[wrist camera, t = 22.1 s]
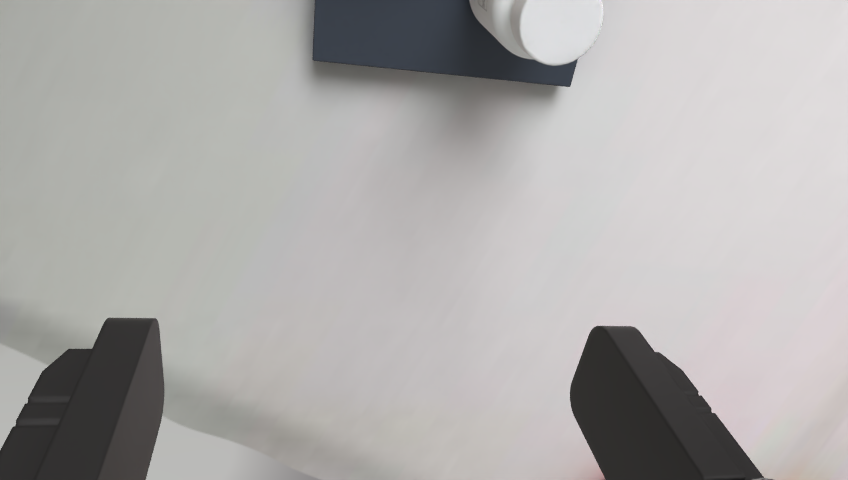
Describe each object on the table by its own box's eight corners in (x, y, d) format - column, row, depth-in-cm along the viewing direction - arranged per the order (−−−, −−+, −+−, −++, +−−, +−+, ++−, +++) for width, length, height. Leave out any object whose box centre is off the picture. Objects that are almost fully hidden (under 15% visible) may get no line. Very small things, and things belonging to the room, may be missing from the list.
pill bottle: (564, 6, 31) (629, 44, 24) (488, 48, 31) (531, 97, 25) (534, -81, 28) (597, -64, 22) (452, -33, 29) (489, -3, 22)
